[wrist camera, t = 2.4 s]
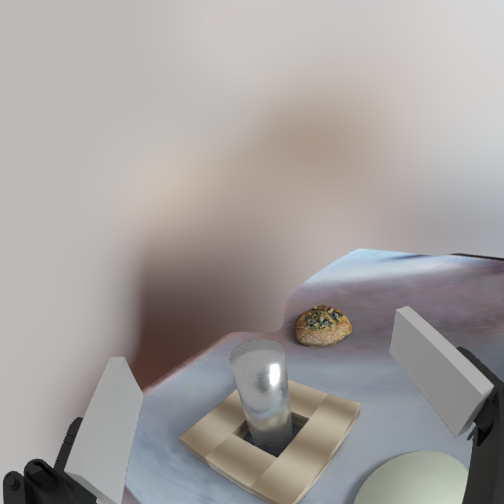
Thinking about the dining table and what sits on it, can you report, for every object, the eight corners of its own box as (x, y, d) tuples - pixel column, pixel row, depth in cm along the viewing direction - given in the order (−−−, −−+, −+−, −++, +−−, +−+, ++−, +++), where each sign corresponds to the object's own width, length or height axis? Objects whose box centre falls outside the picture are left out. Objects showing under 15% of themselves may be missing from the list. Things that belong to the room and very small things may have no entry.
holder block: (261, 381, 39) (259, 367, 38) (358, 416, 29) (361, 403, 28) (186, 448, 28) (178, 437, 27) (289, 514, 18) (288, 507, 17)
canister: (269, 419, 32) (252, 333, 27) (301, 433, 29) (295, 347, 24) (245, 443, 28) (218, 361, 24) (278, 460, 25) (262, 381, 20)
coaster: (384, 443, 24) (385, 440, 24) (481, 460, 15) (483, 457, 15) (325, 538, 14) (325, 537, 14) (443, 561, 5) (446, 561, 5)
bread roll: (308, 310, 57) (310, 290, 55) (357, 325, 51) (361, 305, 48) (281, 341, 49) (281, 321, 47) (337, 362, 43) (341, 342, 40)
